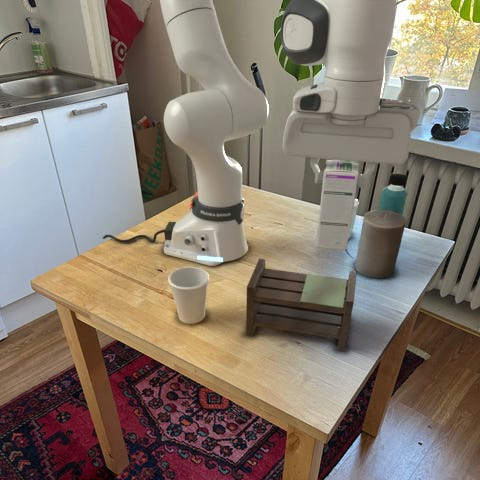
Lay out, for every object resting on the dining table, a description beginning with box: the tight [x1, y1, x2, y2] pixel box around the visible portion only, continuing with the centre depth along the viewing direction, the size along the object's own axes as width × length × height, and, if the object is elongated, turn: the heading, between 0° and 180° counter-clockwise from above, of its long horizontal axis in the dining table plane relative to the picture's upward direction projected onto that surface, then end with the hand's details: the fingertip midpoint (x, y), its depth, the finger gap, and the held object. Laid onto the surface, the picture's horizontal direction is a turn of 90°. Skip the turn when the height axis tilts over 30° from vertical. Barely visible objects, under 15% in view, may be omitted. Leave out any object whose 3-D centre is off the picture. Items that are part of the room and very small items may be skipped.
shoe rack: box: [245, 258, 358, 352], centre depth 91 cm, size 20×11×12 cm, turn 76°
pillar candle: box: [354, 209, 407, 279], centre depth 109 cm, size 10×10×15 cm
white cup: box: [348, 198, 360, 240], centre depth 125 cm, size 8×8×10 cm
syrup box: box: [315, 159, 359, 251], centre depth 80 cm, size 6×6×14 cm
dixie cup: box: [167, 266, 210, 325], centre depth 95 cm, size 8×8×10 cm
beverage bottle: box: [377, 172, 409, 216], centre depth 116 cm, size 6×7×20 cm
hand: (339, 184), depth 78 cm, fingers closed on syrup box, 5 cm apart
